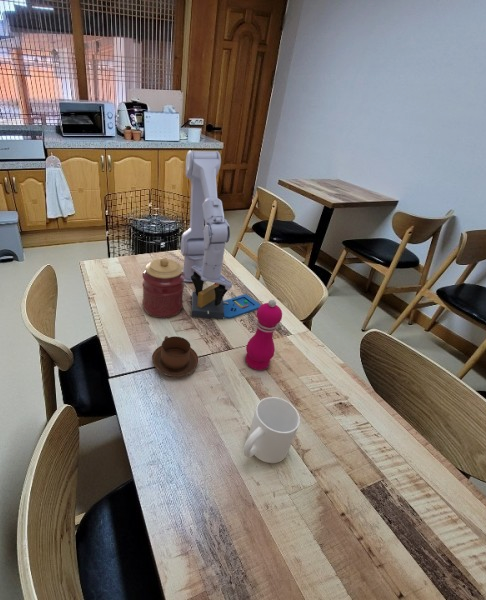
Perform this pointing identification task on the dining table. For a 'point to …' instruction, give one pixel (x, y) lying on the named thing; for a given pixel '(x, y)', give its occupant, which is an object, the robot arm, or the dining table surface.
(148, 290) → the kitchen canister
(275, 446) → the mug
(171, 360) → the cup and saucer
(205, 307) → the frame stand
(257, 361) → the pepper mill
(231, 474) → the dining table surface
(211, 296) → the tan rectangular block
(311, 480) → the dining table surface
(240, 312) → the handheld gaming device
